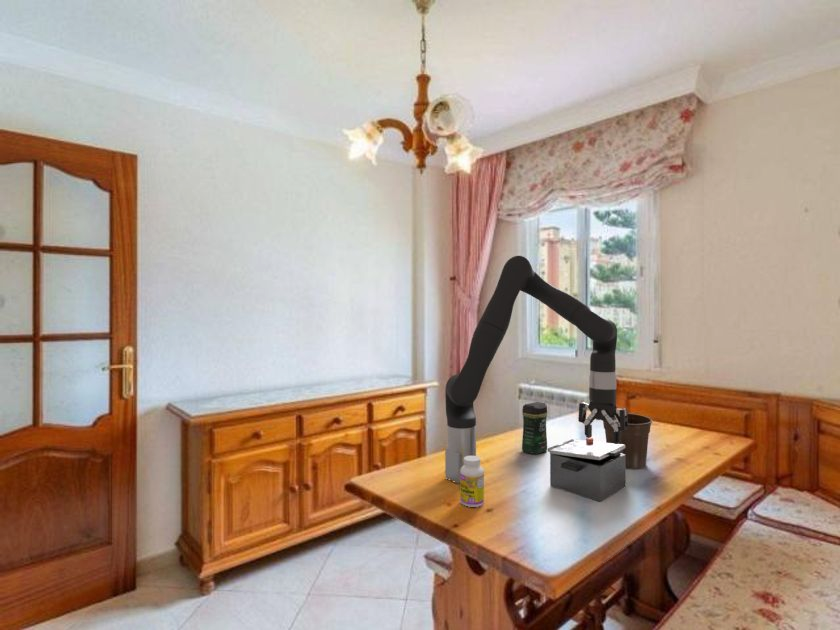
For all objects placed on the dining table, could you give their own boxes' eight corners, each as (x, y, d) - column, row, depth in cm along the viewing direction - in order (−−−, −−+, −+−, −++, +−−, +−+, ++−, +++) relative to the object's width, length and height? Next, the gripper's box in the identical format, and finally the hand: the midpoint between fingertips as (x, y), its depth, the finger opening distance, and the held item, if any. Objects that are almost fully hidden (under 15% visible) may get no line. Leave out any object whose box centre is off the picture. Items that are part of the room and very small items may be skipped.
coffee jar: (536, 456, 170) (536, 406, 170) (518, 451, 176) (518, 403, 176) (551, 450, 177) (550, 402, 176) (533, 446, 183) (533, 399, 182)
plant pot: (622, 474, 152) (622, 425, 151) (591, 458, 167) (591, 414, 167) (663, 469, 156) (663, 421, 156) (629, 454, 171) (629, 411, 171)
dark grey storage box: (595, 505, 128) (595, 469, 128) (544, 488, 140) (544, 455, 140) (629, 484, 143) (629, 452, 143) (581, 471, 155) (581, 441, 154)
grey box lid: (605, 460, 128) (604, 452, 129) (545, 452, 143) (544, 445, 143) (631, 448, 139) (630, 440, 140) (573, 442, 154) (572, 434, 154)
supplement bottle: (455, 503, 130) (455, 458, 130) (470, 496, 134) (470, 452, 134) (474, 510, 125) (473, 463, 125) (489, 503, 130) (488, 458, 129)
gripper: (574, 384, 140) (574, 437, 140) (620, 390, 129) (620, 448, 130) (586, 381, 145) (586, 433, 145) (632, 387, 134) (632, 443, 135)
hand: (602, 440), depth 137 cm, fingers open, 8 cm apart
